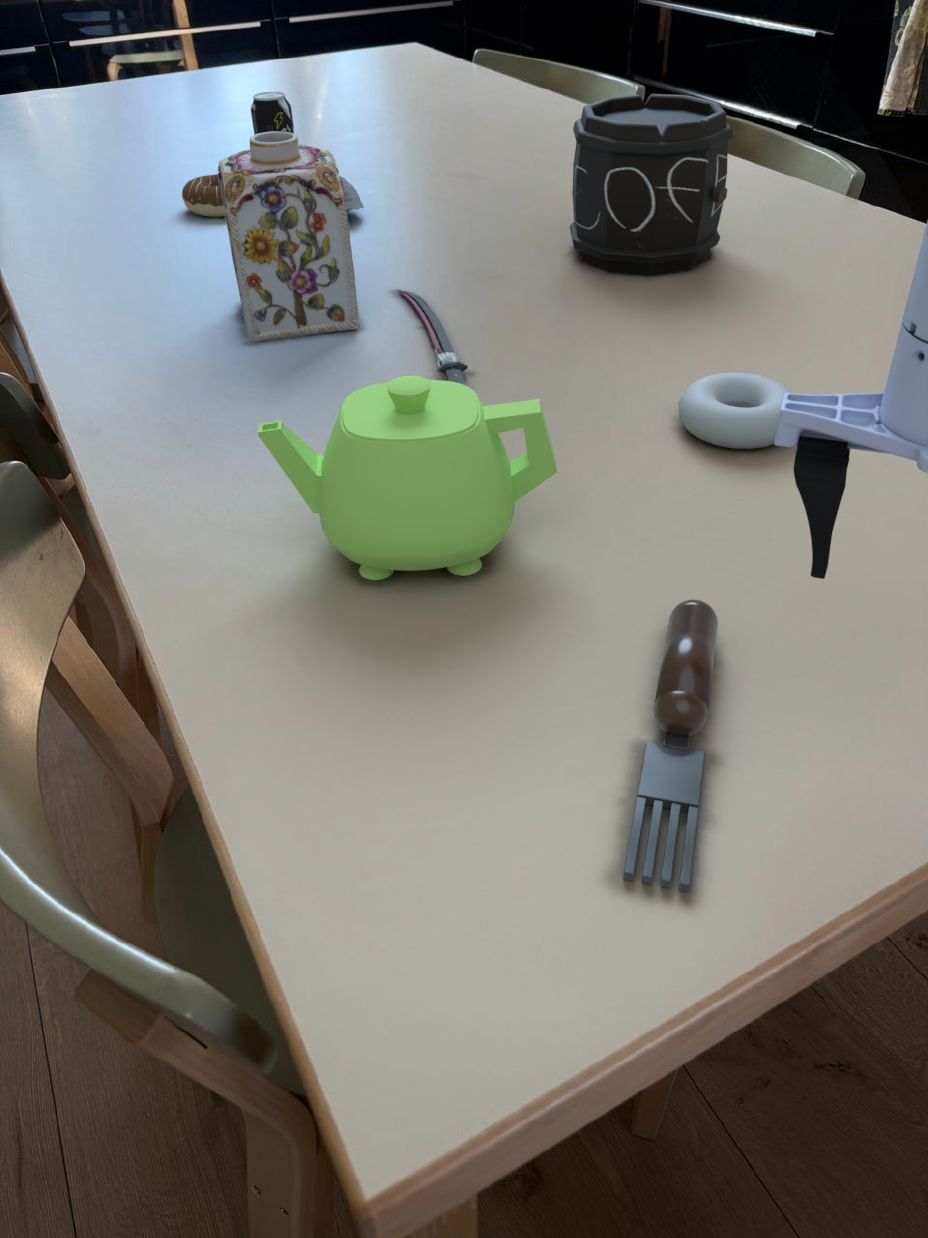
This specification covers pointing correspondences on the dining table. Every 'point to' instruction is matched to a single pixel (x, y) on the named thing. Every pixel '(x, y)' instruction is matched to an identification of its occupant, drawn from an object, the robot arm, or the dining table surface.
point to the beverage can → (271, 113)
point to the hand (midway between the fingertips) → (895, 580)
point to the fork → (676, 741)
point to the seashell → (351, 195)
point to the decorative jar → (289, 238)
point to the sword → (448, 357)
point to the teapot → (416, 474)
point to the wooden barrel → (649, 182)
